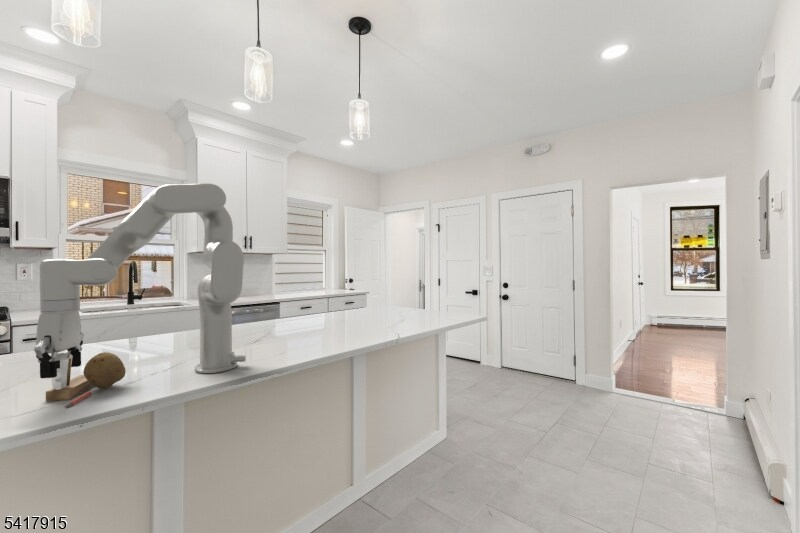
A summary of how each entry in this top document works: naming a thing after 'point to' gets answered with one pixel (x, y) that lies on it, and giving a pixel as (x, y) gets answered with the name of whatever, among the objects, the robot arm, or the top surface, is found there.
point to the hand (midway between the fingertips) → (61, 371)
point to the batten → (69, 389)
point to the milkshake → (62, 371)
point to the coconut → (104, 370)
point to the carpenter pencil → (78, 399)
